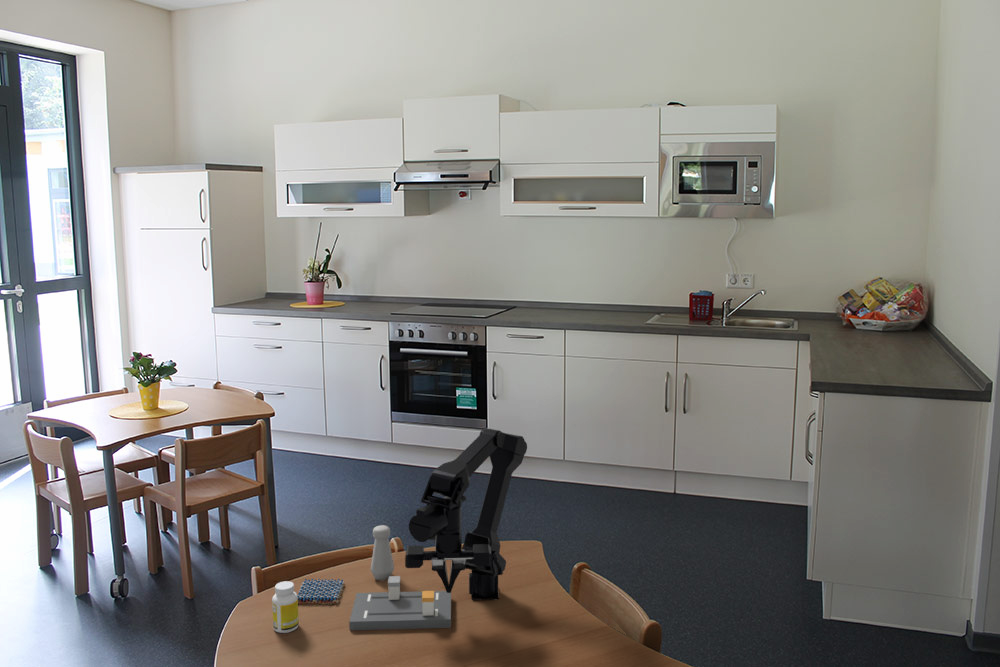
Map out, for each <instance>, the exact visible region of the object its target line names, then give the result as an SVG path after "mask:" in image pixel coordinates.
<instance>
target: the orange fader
mask: <svg viewBox="0 0 1000 667" xmlns="http://www.w3.org/2000/svg"><path fill="white" fill-rule="evenodd" d="M434 591H435V590H422V591H421V592H422V603H423V616H427V615H434Z"/></svg>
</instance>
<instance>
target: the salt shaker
mask: <svg viewBox="0 0 1000 667" xmlns="http://www.w3.org/2000/svg"><path fill="white" fill-rule="evenodd" d="M390 536H391V529H390V527H389V526H388V525H383V524H382V525H380V524H379V525H377V526H375V527H374V528H373V529H372V537H373V538H374V543H373V550H372V557H371V564H370V572H371V574H372V576H373V577H374V578H375V580H376V581H381V582H383V581H386V580H387V581H388V579H389V576H392V575H393V572H394V570H395V564H394V558H393V555H392V550H391V545H390V539H389V537H390Z"/></svg>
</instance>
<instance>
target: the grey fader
mask: <svg viewBox="0 0 1000 667" xmlns="http://www.w3.org/2000/svg"><path fill="white" fill-rule="evenodd" d="M387 587H388V592H389V600H399V598H400V592H401V575H391V576H389V579H387Z"/></svg>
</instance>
